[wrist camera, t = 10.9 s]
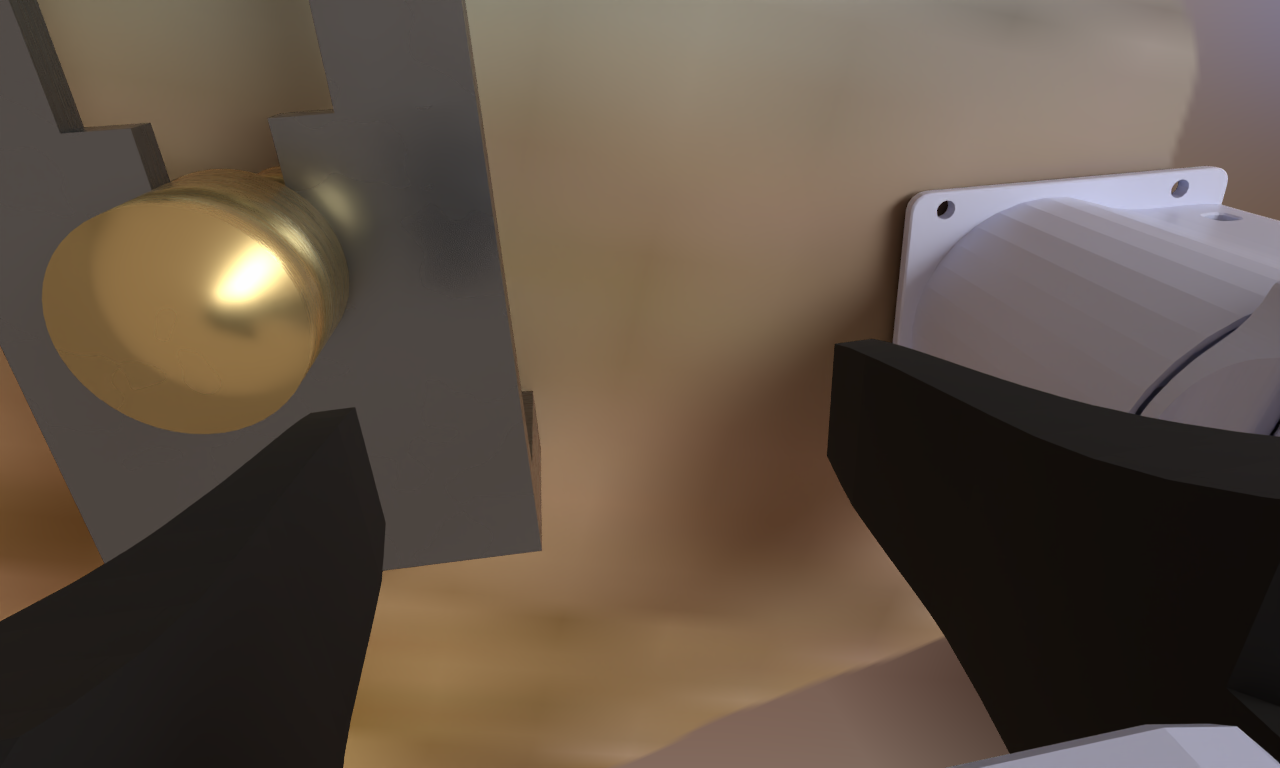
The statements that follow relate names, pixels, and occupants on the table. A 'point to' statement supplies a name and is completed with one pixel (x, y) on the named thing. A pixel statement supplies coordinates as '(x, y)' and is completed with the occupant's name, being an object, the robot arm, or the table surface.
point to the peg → (198, 300)
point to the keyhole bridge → (377, 304)
